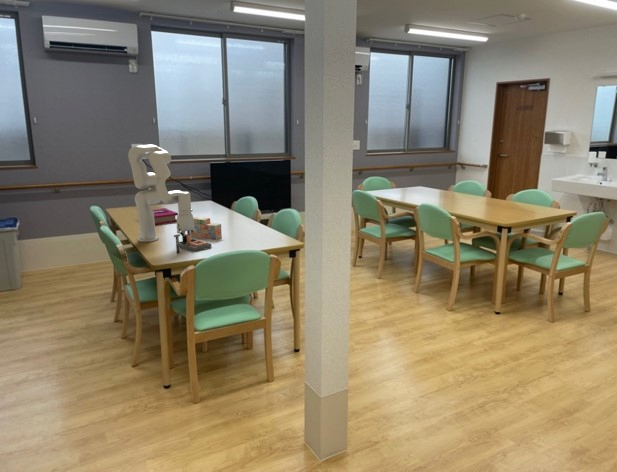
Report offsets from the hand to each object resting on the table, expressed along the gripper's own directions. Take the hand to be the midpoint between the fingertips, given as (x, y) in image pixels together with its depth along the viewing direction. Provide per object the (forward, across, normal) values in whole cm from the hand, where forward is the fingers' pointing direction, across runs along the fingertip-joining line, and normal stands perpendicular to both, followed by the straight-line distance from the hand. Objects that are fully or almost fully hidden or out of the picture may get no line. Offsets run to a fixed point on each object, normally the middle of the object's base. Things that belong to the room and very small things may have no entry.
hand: (186, 241), depth 287 cm
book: (+4, -29, -79) cm, 84 cm away
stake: (+2, +14, +12) cm, 18 cm away
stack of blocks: (+3, -21, -8) cm, 23 cm away
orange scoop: (+1, 0, +8) cm, 8 cm away
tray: (+2, 0, +7) cm, 7 cm away
